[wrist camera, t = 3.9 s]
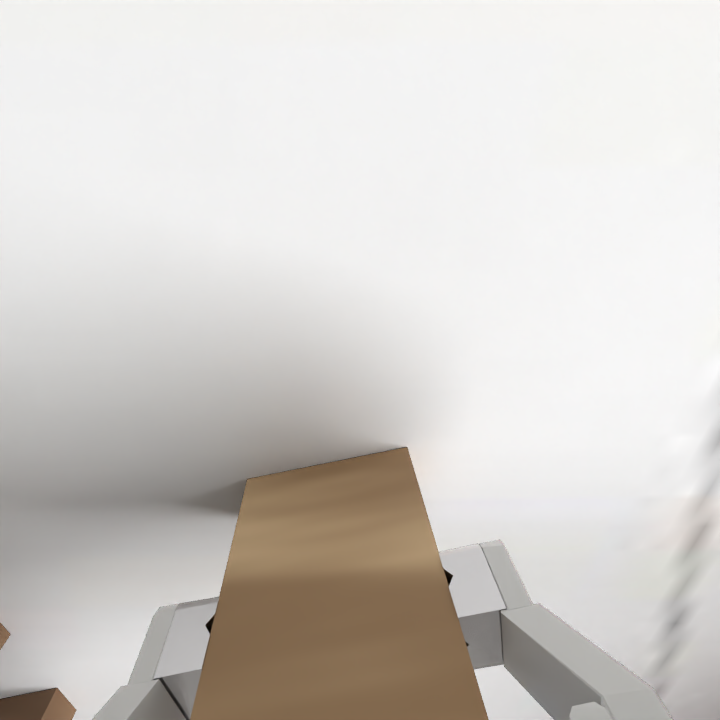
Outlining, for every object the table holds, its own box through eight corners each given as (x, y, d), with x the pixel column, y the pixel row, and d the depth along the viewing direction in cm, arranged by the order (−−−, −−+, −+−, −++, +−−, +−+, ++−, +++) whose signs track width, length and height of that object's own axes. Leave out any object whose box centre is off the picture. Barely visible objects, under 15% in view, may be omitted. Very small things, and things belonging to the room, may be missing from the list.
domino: (414, 486, 14) (515, 848, 6) (261, 517, 14) (194, 910, 7) (407, 446, 13) (513, 802, 6) (247, 479, 13) (153, 873, 6)
